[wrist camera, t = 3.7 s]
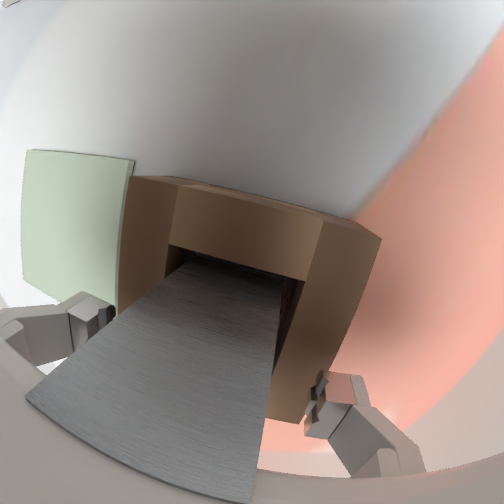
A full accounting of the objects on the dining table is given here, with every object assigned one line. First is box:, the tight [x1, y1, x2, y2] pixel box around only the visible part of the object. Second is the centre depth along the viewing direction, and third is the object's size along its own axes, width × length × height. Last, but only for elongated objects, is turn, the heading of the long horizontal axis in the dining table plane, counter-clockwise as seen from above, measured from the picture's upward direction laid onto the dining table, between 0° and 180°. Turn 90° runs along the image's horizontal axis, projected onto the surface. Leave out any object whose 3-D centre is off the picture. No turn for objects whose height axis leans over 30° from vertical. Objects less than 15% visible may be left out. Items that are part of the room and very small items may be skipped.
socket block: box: [118, 176, 382, 424], centre depth 13 cm, size 10×10×4 cm
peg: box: [25, 252, 284, 504], centre depth 9 cm, size 4×4×12 cm
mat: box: [21, 150, 134, 319], centre depth 15 cm, size 11×11×1 cm
